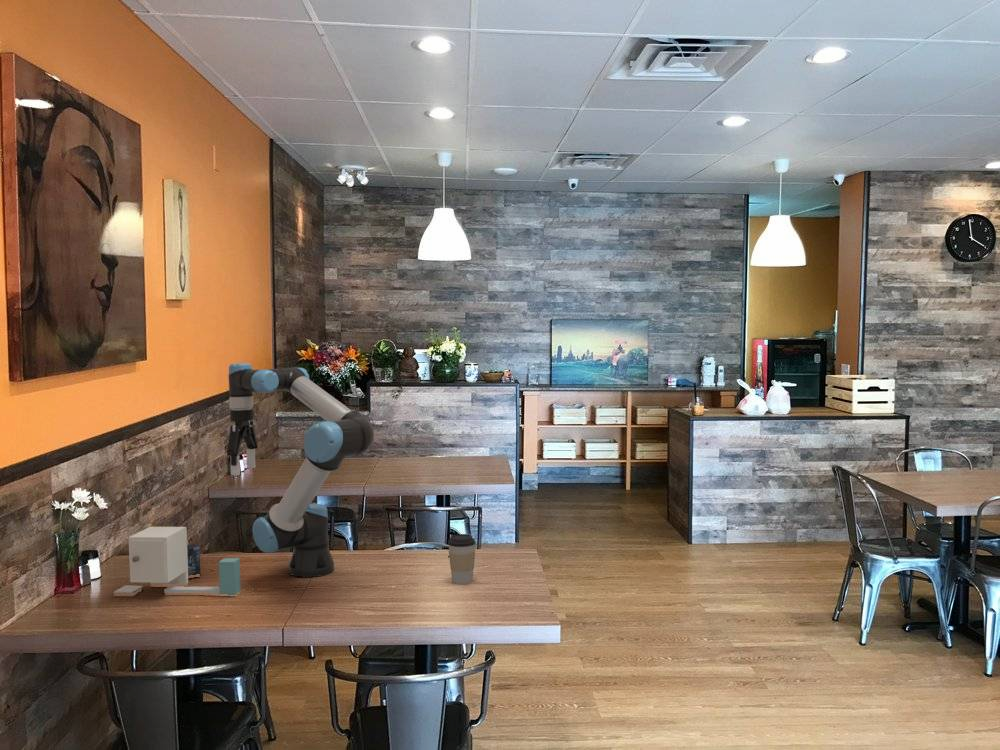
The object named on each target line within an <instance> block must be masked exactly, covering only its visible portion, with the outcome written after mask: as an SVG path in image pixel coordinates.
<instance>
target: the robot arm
mask: <svg viewBox="0 0 1000 750" xmlns="http://www.w3.org/2000/svg"><path fill="white" fill-rule="evenodd" d="M227 377H228V390H229V391H228V392H229V393H228V394H229V398H228V402H229V409H230V410H229V420H230V421H231V422H234V424H233V425H232V424H231V425H230V432H229V438H228V444H227V451H226V455H227V457H230V475H231V476H240V475H241V474H240V472H241V471H240V470H241V469H240V455H239V452H240V449H241V448H240V447H241V444H242V440H244V443H245V445H246V447H247V449H246V468H247V469H256V450H257V449H258V448H259V446H258V440H257V435H256V431H255V428H254V426H255V425H254V421H253V420H254V417H255V416H254V409H253V408H254V393H260V394H269V393H273V392H281V391H286V392H288V393H289V394H291V395H292V396H293V397H295V398H296V399H298V400H299V401H300V402H301V403H303V404H304V405H305V406H307V407H308V408H309V409H311V410H312V411H313V412H315V414H317V415H318V416H320V417H321V418H322V419H323V420H324V421H321V422H320V423H319V422H318V423H315V424H313V425H312V426H310V427H309V428H308V430H307V431H306V433H305V435H304V437H303V438H304V439H303V442H304V444H303V449H304V455H305V459H304V461H303V462H302V464H301V466H300V468H299V470H298V471H297V472H296V474H295V476H294V478H293V479H292V481H291V482H290V485H289V487H288V488H287V489H286V491H285V493H284V495H283V496H282V498H281V500H280V501H279V503H276V504H273V505H272V506H271V507H270V508H269V510H268V512H267V514H266V515H265V516H264V517H263V516H260V517H259V518H257V519H255V520H254V522H253V525H252V536H253V541H254V543H255V545H256V546H257V547H258V549H259V550H260V551H262V552H263V553H266V554H270V553H277V552H279V551H282V550H286V549H289V548H292V547H293V550H292V554H291V558H290V559H289V560H290V561H289V563H288V574H289V573H290V574H293V575H295V576H294V577H296V576H302V577H301V578H313V576H316V577H320V576H319V575H322V576H325V575H324V574H326V575H328V574H330V572H331V573H332V572H334V570H335V561H334V558H333V556H332V553H331V551H330V547H329V515H328V508H327V506H326V505H324V504H321V503H314V502H313V501H314V499H315V498H316V496H317V494H318V493H319V491H320V489H321V488H322V486H323V484H324V483H325V482H326V480H327V478H328V477H329V475H330V473H331V472H335V471H337V470H338V469H339V468H340V466H341V465H342V463H343V462H344V460H345V459H346V458H350V457H353V456H354V457H355V456H359V455H361V454H364V453H365V452H367V451H368V450H369V449H371V446H372V444H373V442H374V438H375V431H374V427H373V425H372V423H371V421H370V420H369V419H368V418H367V416H365V415H364V414H362V413H361V412H359V411H358V410H356V409H350V407H349V408H348V406H346V405H345V404H344V403H342V402H341V401H339V400H338V399H337V398H335V397H334V396H332V395H331V394H329V393H328V392H327V391H326V390H324V389H323V388H322V387H320V386H319V385H318V384H316V383H315V382H313V381H312V380H311V379H310V375H309V373H308V370H306V368H303V367H295V366H293V367H285V368H284V367H283V368H266V369H265V368H264V369H253V366H252V364H251V363H248V362H240V363H239V362H235V363H230V365H228V376H227ZM312 502H313V503H312ZM290 574H289V575H290Z"/></svg>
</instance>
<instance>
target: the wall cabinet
mask: <svg viewBox="0 0 1000 750" xmlns="http://www.w3.org/2000/svg"><path fill="white" fill-rule="evenodd" d="M187 532H188V530H187V526H149V527H147V528H145V529H142V530H140V531H139V532H137V533H135V534H132V535H130V536H128V555H129V559H128V561H129V579H130V580H129V582H130V583H149V585H150V584H161V585H163V584H187V583H189V580H188V554H187V545H188V535H187Z"/></svg>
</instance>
